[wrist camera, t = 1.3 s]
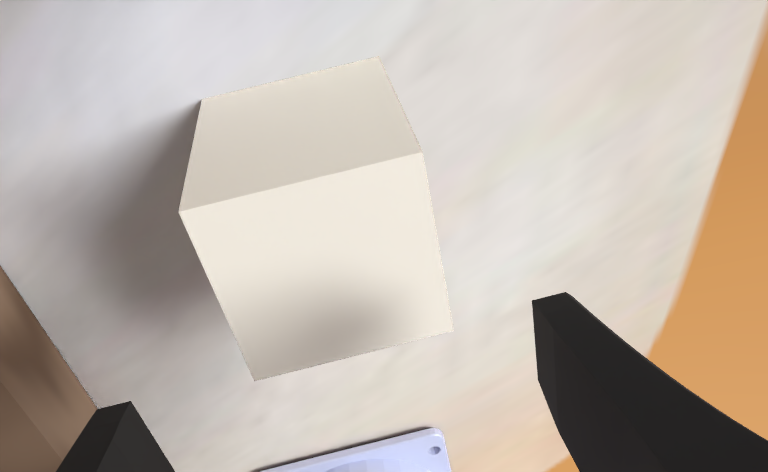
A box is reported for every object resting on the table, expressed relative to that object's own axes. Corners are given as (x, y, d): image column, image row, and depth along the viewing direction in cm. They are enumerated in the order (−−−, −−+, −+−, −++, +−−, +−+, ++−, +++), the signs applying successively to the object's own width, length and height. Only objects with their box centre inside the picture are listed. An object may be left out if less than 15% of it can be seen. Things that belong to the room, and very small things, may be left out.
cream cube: (408, 205, 21) (454, 331, 16) (256, 242, 21) (254, 381, 16) (378, 55, 18) (423, 151, 13) (201, 98, 18) (178, 212, 13)
